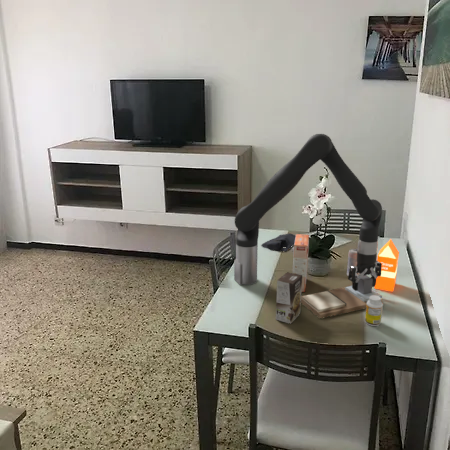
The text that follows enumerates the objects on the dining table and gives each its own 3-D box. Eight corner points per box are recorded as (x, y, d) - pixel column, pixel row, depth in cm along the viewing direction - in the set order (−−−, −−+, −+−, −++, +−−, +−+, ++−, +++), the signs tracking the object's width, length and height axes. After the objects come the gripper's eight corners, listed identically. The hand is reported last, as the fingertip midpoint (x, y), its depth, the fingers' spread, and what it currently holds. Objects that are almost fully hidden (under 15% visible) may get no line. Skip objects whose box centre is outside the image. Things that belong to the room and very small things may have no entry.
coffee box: (291, 324, 172) (292, 284, 167) (275, 319, 175) (276, 280, 170) (301, 313, 179) (303, 274, 174) (285, 309, 182) (287, 271, 177)
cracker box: (305, 292, 196) (308, 245, 189) (291, 291, 197) (293, 244, 190) (307, 278, 209) (309, 234, 202) (293, 277, 210) (295, 233, 203)
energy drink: (359, 273, 213) (361, 249, 210) (358, 278, 209) (360, 253, 205) (347, 272, 215) (349, 247, 211) (346, 277, 210) (348, 252, 206)
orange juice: (395, 283, 204) (400, 239, 198) (393, 291, 196) (398, 246, 190) (376, 280, 207) (381, 237, 201) (373, 288, 199) (378, 243, 193)
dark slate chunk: (304, 241, 255) (304, 233, 254) (284, 254, 238) (284, 245, 237) (279, 236, 264) (279, 228, 262) (258, 247, 247) (258, 239, 245)
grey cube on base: (363, 301, 184) (365, 285, 182) (345, 289, 195) (346, 273, 193) (381, 297, 187) (383, 281, 185) (362, 285, 198) (363, 270, 196)
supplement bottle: (368, 317, 176) (371, 292, 173) (383, 322, 173) (385, 297, 170) (362, 323, 172) (364, 298, 169) (376, 328, 169) (379, 302, 165)
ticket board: (320, 318, 175) (320, 312, 175) (297, 300, 189) (298, 294, 189) (368, 307, 183) (368, 301, 183) (343, 290, 197) (343, 284, 197)
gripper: (375, 244, 191) (372, 281, 196) (346, 249, 186) (343, 287, 191) (388, 251, 185) (384, 288, 190) (358, 256, 179) (354, 295, 185)
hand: (363, 288), depth 190 cm, fingers open, 8 cm apart
